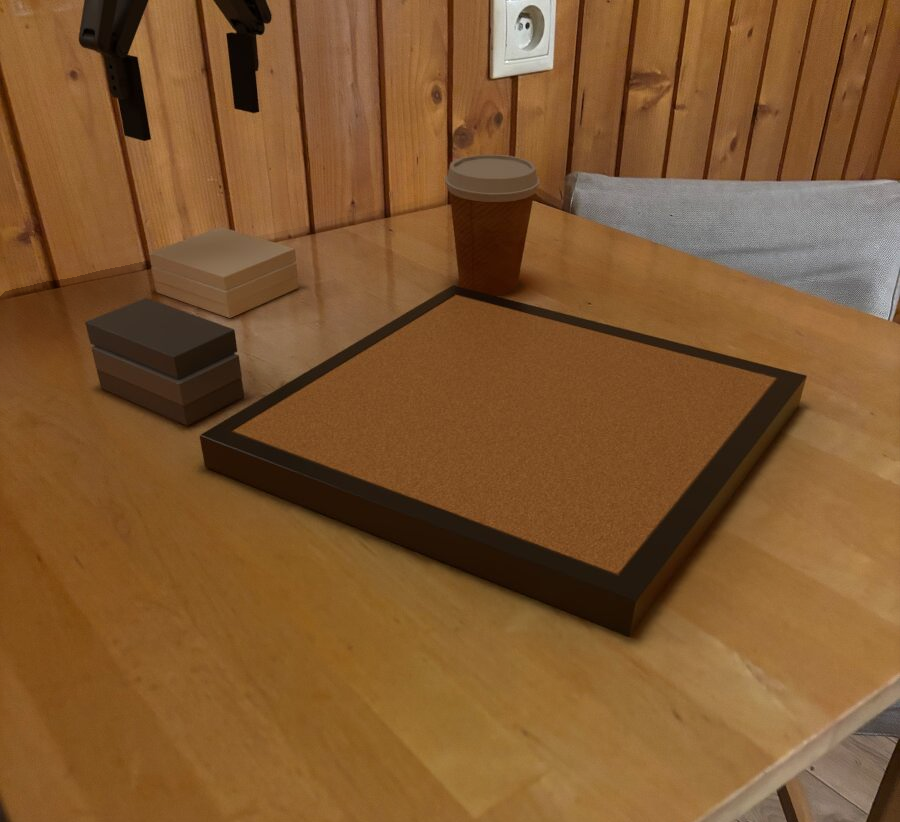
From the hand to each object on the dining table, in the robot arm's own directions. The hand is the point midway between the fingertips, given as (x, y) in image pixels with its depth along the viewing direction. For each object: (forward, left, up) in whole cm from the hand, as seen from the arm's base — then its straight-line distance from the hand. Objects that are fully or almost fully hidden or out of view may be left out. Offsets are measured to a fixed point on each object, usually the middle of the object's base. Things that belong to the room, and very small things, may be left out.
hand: (195, 123), depth 89 cm
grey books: (+14, -18, -16) cm, 28 cm away
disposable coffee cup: (+22, +19, -16) cm, 33 cm away
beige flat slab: (+1, +1, -13) cm, 13 cm away
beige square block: (+1, +1, -16) cm, 16 cm away
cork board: (+42, -6, -16) cm, 45 cm away
